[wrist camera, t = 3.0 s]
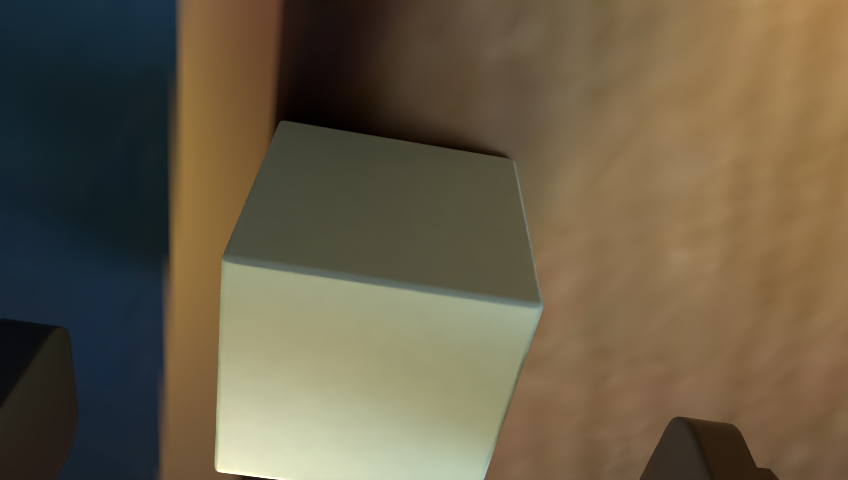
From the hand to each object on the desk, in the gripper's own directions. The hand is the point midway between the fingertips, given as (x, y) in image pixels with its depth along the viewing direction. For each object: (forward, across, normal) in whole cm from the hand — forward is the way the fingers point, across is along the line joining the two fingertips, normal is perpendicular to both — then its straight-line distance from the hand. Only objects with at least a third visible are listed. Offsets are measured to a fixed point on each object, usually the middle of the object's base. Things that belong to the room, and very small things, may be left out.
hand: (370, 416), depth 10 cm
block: (+4, 0, 0) cm, 4 cm away
